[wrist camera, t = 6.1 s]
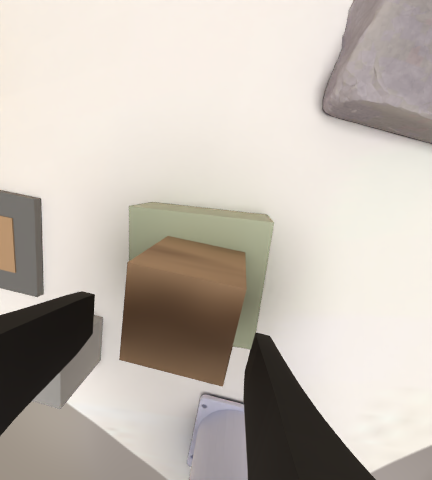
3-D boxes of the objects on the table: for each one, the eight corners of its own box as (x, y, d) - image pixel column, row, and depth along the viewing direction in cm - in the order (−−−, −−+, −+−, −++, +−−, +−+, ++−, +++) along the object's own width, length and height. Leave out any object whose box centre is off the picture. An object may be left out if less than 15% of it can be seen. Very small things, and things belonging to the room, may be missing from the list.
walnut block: (229, 321, 15) (222, 386, 10) (158, 304, 15) (119, 359, 10) (245, 252, 13) (246, 289, 9) (167, 235, 14) (127, 262, 9)
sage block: (250, 316, 19) (252, 349, 15) (151, 301, 20) (129, 329, 16) (266, 214, 17) (274, 222, 13) (154, 201, 17) (129, 206, 14)
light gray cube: (100, 359, 22) (60, 409, 17) (54, 347, 22) (2, 392, 17) (103, 316, 20) (60, 357, 16) (54, 304, 21) (-3, 340, 16)
